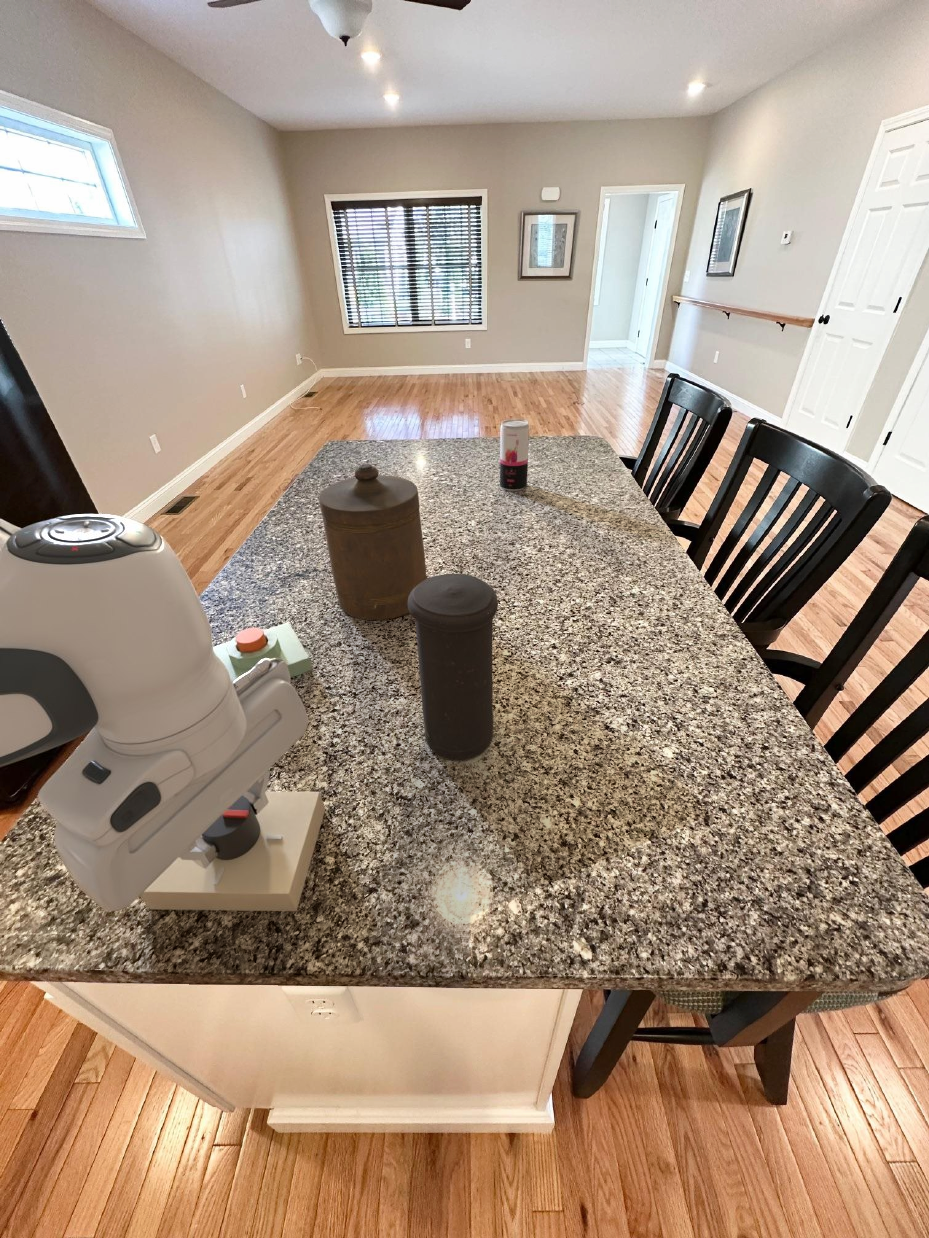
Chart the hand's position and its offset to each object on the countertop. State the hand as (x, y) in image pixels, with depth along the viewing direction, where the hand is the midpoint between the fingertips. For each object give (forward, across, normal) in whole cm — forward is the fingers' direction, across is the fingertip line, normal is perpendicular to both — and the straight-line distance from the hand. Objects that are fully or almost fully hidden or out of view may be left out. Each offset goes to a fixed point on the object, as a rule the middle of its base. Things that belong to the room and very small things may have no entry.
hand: (232, 831), depth 46 cm
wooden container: (+4, -44, -15) cm, 46 cm away
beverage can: (+4, -98, -15) cm, 100 cm away
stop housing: (+4, -21, -20) cm, 29 cm away
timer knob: (+1, 0, 0) cm, 1 cm away
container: (+4, -23, +11) cm, 25 cm away
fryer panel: (+4, 0, 0) cm, 4 cm away
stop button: (+1, -21, -20) cm, 29 cm away
